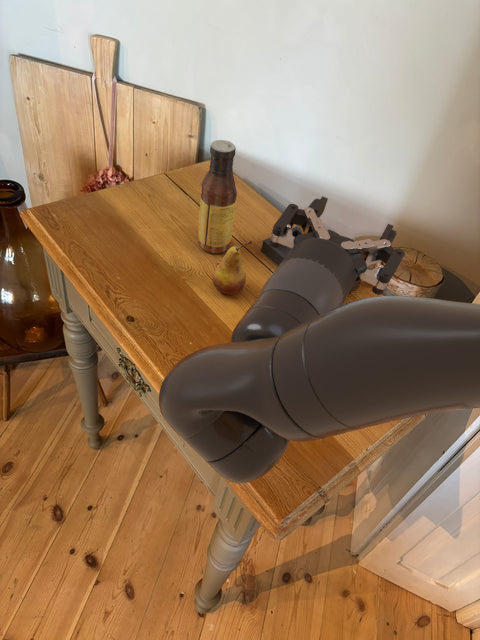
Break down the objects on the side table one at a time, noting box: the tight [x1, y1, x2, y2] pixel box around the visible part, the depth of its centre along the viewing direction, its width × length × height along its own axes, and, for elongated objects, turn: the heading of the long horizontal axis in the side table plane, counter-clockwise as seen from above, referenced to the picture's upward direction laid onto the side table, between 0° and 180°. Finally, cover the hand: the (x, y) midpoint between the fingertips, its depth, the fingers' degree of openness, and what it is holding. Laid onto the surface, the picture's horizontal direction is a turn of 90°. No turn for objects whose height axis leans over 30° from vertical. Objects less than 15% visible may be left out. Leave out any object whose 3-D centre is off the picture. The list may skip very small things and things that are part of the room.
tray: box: [260, 225, 363, 294], centre depth 86 cm, size 9×17×3 cm, turn 40°
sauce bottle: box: [197, 139, 238, 255], centre depth 80 cm, size 6×6×20 cm
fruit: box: [212, 240, 253, 296], centre depth 76 cm, size 6×6×12 cm
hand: (355, 216), depth 56 cm, fingers open, 8 cm apart
